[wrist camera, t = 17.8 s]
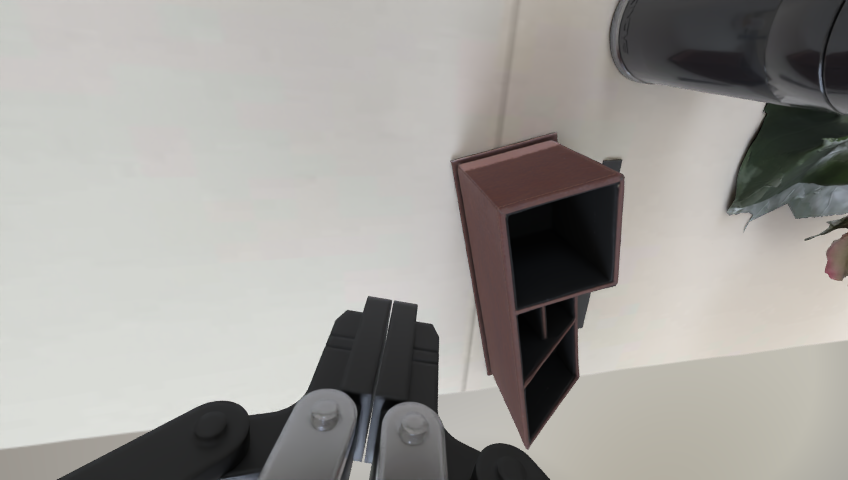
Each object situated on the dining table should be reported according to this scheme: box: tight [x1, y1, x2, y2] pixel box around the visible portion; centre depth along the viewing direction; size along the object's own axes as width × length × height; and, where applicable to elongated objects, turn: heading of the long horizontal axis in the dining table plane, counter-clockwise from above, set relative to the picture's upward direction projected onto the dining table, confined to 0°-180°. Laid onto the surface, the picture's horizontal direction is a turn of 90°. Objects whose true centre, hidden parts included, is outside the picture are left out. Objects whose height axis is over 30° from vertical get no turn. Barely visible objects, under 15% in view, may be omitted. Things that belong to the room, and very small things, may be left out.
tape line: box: [577, 160, 622, 328], centre depth 45 cm, size 2×22×1 cm, turn 0°
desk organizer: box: [450, 133, 625, 449], centre depth 39 cm, size 10×29×11 cm, turn 12°
